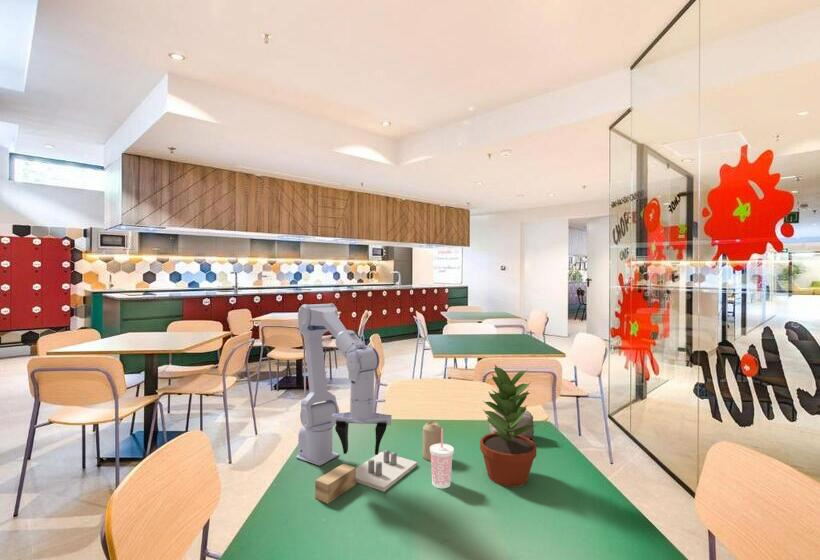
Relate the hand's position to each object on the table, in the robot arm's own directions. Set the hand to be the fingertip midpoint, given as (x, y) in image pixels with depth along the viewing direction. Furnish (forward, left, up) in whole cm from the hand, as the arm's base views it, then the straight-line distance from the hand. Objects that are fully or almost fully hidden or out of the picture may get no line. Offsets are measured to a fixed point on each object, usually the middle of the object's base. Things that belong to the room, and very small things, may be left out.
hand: (361, 452), depth 99 cm
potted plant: (+29, +26, -9) cm, 40 cm away
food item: (+22, +52, -9) cm, 57 cm away
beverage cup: (+16, +13, -9) cm, 22 cm away
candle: (+7, +25, -9) cm, 27 cm away
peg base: (0, +10, -9) cm, 13 cm away
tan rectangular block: (-4, -4, -9) cm, 11 cm away
